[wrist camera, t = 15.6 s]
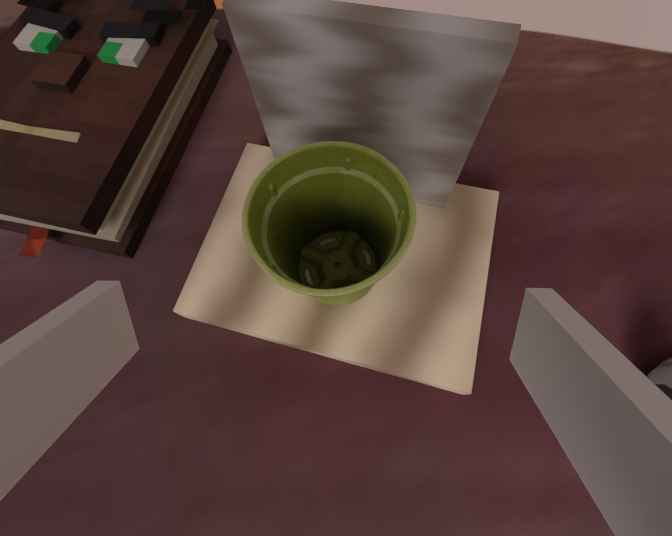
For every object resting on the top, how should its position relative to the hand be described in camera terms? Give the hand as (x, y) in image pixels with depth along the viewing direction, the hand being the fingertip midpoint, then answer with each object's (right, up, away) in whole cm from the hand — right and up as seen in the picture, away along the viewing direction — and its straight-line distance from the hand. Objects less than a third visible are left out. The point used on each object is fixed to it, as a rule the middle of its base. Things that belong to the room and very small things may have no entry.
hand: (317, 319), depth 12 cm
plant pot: (+1, +2, +15) cm, 16 cm away
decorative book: (-22, +16, +25) cm, 37 cm away
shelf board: (+1, +2, +18) cm, 18 cm away
